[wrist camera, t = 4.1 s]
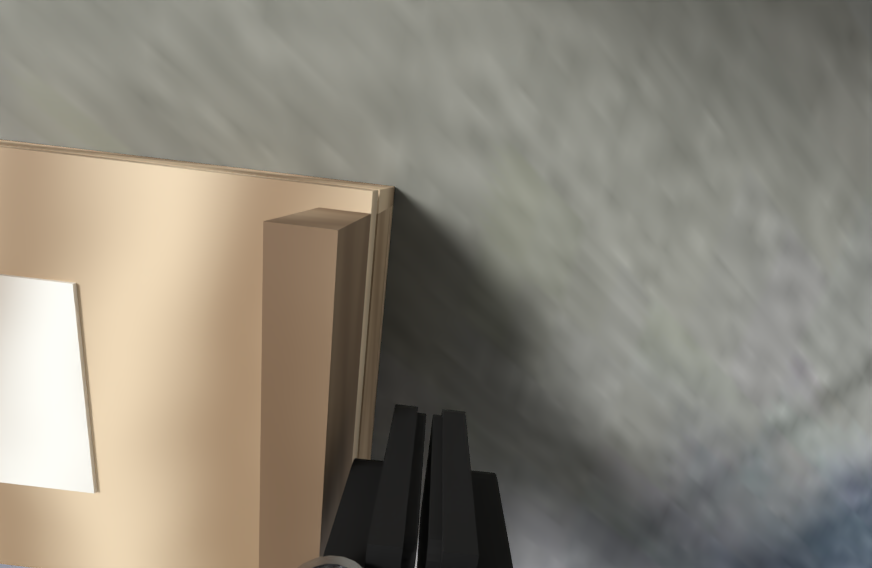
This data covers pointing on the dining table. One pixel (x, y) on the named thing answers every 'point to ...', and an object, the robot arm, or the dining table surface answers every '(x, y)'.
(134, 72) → the dining table surface
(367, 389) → the light wood shallow tray
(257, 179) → the lid
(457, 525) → the robot arm
